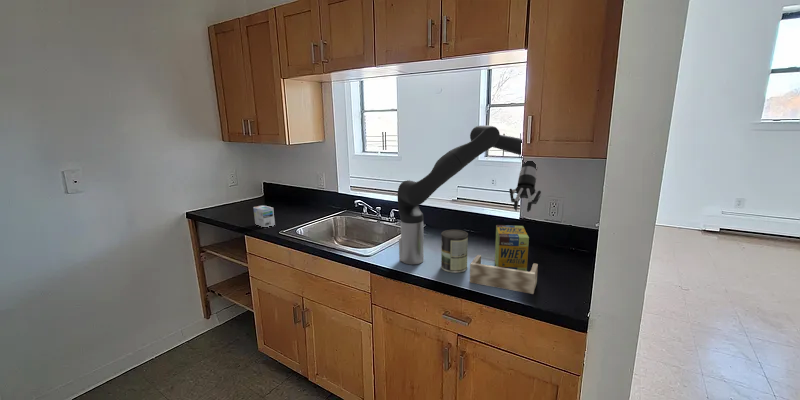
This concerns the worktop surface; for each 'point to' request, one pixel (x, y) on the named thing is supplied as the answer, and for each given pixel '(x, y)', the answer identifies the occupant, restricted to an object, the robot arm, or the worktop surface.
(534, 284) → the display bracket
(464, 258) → the coffee can
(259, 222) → the light bulb box
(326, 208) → the worktop surface
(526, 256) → the protein box
